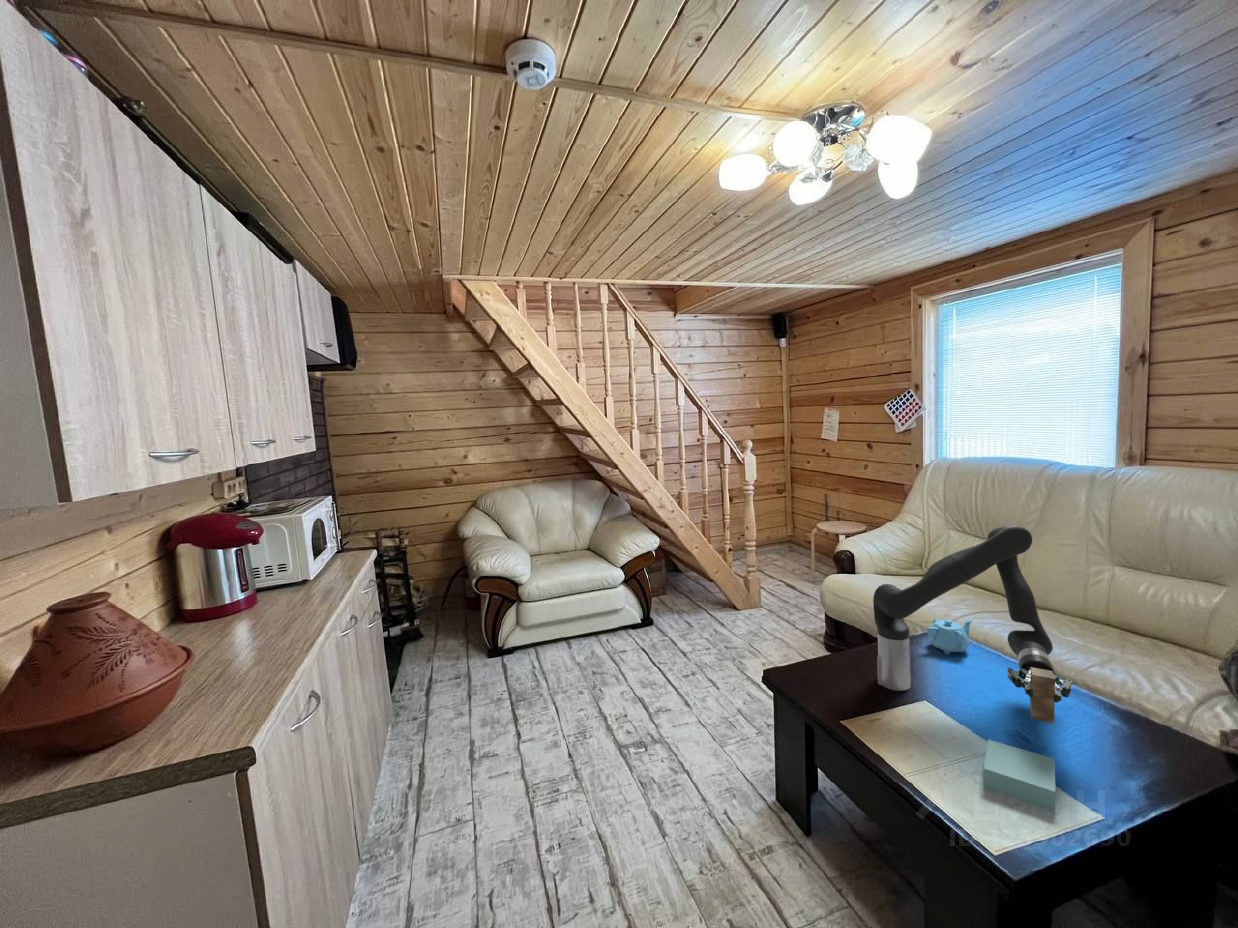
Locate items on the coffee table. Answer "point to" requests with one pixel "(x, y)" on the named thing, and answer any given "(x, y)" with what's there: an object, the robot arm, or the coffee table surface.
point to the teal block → (1020, 774)
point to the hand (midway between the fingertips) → (1043, 696)
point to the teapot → (949, 635)
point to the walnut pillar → (1042, 695)
